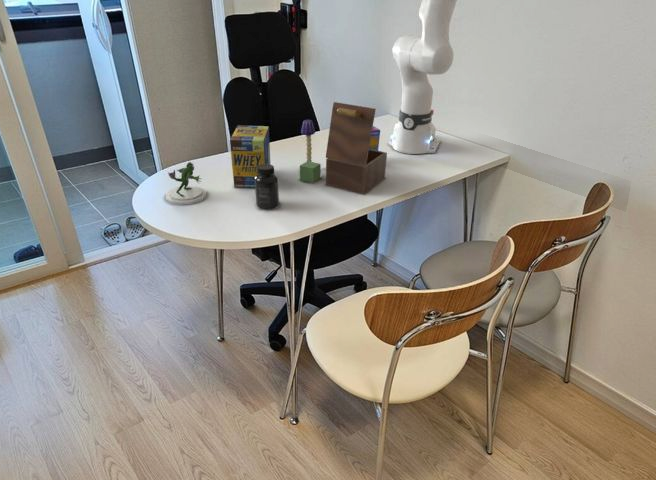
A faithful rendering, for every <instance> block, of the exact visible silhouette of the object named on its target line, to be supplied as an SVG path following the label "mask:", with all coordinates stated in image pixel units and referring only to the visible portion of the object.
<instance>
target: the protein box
mask: <svg viewBox="0 0 656 480" xmlns="http://www.w3.org/2000/svg"><path fill="white" fill-rule="evenodd" d="M270 144H271V143H270V127H269V126H268V125H267V126H264V125H239V124H237V126H236V127H235V130H234V132H233V133H232V135H231V137H230V139H229V148H230V155H231V156H230V157H231V158H230V159H231V168H232V169H231V170H232V177H233V178H232V179H233V187H234V188H244V189H245V188H246V189H247V188H253V189H255V180H254V179H255V177H256V176H257V175H258V174H257V166H259V165H262V164H270V165H271V145H270Z"/></svg>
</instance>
